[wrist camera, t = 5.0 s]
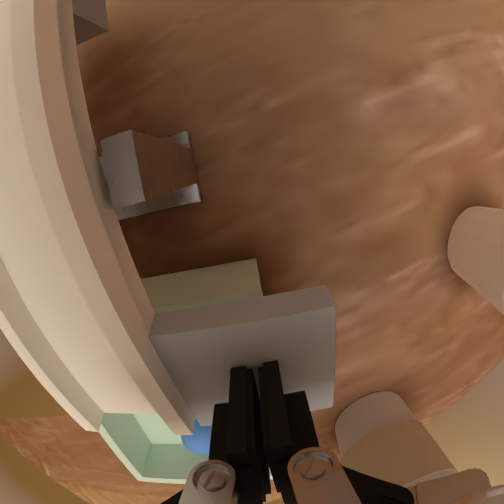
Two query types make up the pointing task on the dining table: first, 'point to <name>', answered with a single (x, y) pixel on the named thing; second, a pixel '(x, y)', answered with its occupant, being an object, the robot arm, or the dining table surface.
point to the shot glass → (480, 251)
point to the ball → (198, 439)
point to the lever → (114, 260)
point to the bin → (151, 425)
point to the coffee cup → (389, 442)
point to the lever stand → (149, 172)
